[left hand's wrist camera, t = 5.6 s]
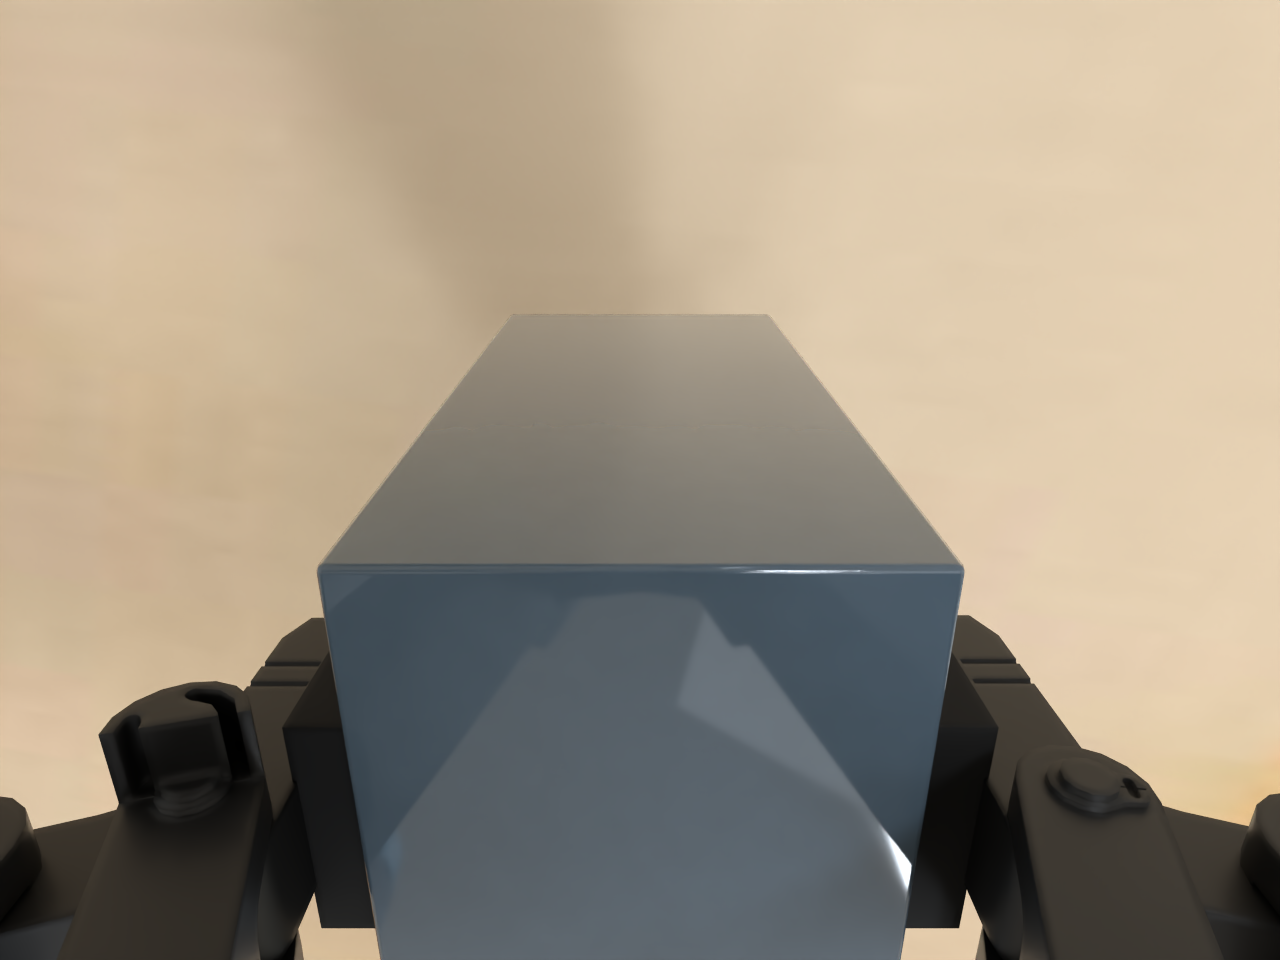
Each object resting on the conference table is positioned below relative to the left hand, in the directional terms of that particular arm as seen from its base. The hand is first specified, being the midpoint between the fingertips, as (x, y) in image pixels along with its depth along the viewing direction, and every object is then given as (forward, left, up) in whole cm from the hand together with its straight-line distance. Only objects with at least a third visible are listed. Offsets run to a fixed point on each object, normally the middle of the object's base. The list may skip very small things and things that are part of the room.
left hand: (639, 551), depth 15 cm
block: (0, 0, -5) cm, 5 cm away
